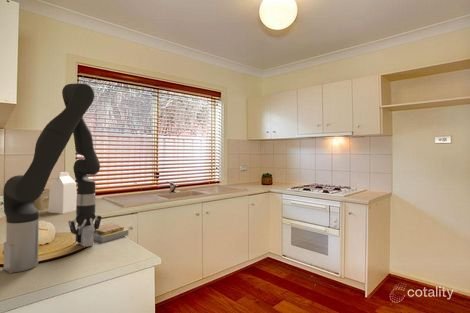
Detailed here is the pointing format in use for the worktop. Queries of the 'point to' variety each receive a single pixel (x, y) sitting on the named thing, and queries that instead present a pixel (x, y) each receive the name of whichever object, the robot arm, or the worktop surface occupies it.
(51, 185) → the milk
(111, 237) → the dock
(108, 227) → the pallet
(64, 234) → the worktop surface
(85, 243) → the medicine box
